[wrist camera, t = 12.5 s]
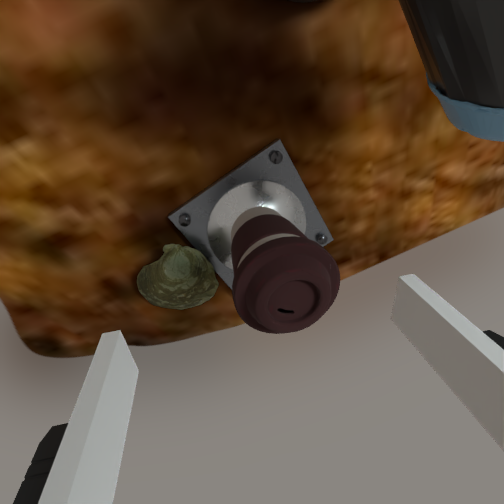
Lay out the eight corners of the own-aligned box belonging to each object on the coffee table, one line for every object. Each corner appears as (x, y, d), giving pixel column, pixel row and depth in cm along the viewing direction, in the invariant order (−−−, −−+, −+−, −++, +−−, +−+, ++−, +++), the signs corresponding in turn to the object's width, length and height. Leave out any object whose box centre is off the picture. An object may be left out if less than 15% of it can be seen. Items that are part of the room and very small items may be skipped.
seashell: (147, 319, 40) (135, 315, 31) (137, 269, 42) (123, 251, 33) (218, 300, 43) (227, 292, 34) (206, 254, 45) (212, 233, 35)
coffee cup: (268, 178, 34) (315, 228, 22) (307, 235, 39) (366, 305, 26) (203, 227, 36) (211, 302, 23) (249, 277, 41) (277, 362, 28)
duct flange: (277, 138, 34) (281, 140, 33) (330, 236, 42) (335, 241, 40) (168, 214, 36) (167, 219, 34) (238, 295, 44) (240, 301, 42)
